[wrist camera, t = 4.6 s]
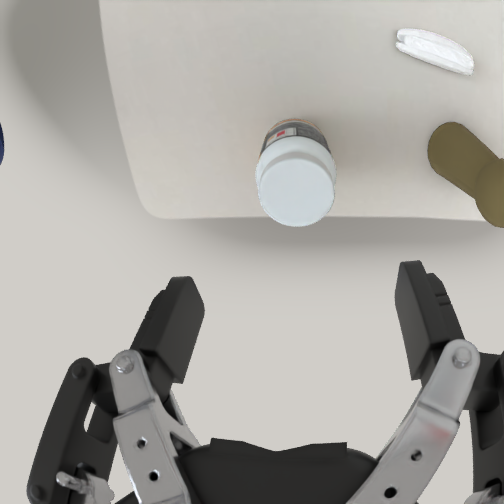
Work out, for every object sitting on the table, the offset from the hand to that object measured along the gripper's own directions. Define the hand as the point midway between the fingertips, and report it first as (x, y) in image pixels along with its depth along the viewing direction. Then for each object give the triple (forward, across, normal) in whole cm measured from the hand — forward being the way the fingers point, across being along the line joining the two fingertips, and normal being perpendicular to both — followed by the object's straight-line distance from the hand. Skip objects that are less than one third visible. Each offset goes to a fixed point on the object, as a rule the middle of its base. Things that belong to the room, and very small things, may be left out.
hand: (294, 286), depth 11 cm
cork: (+18, -16, +1) cm, 24 cm away
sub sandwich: (+18, -14, -9) cm, 24 cm away
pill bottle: (+18, 0, 0) cm, 18 cm away
